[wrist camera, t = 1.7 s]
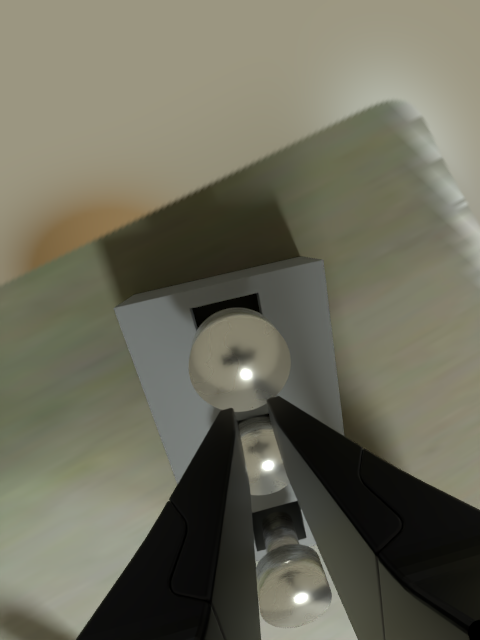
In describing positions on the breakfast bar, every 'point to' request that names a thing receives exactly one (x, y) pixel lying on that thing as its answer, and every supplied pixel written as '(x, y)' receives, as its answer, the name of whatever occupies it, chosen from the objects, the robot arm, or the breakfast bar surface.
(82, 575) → the breakfast bar surface
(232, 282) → the mount
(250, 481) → the knob middle
